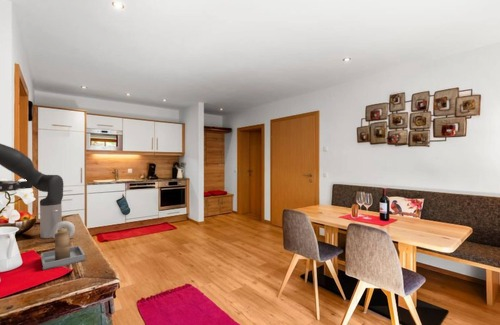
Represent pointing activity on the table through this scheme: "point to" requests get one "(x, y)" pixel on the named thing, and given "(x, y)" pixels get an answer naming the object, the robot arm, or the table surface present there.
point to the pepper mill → (62, 244)
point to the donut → (63, 224)
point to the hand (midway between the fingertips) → (32, 184)
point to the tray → (50, 262)
